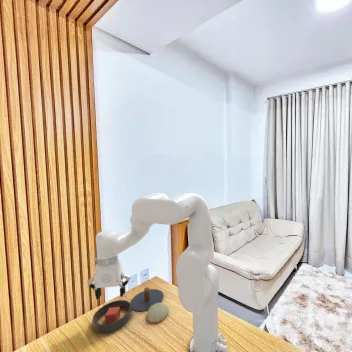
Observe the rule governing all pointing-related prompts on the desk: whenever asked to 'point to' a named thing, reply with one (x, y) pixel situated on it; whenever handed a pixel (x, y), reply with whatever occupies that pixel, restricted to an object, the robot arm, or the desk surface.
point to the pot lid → (146, 299)
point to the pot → (114, 325)
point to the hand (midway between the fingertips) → (110, 296)
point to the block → (112, 315)
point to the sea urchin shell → (157, 312)
